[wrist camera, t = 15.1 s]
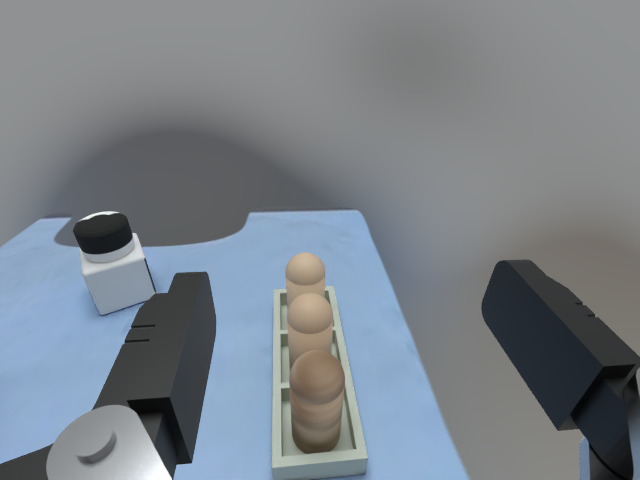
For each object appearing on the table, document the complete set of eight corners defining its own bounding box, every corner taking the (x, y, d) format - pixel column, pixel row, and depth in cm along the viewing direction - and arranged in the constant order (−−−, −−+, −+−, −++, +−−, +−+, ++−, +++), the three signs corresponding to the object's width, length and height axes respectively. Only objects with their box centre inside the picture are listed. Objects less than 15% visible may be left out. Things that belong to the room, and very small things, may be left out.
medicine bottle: (158, 297, 50) (134, 224, 43) (100, 317, 47) (66, 240, 40) (148, 270, 55) (126, 201, 48) (96, 286, 52) (64, 214, 45)
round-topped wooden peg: (282, 424, 34) (277, 354, 29) (321, 399, 36) (324, 330, 31) (309, 466, 31) (309, 398, 25) (349, 436, 33) (358, 367, 28)
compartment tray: (365, 473, 31) (377, 401, 25) (273, 483, 31) (264, 411, 25) (332, 301, 50) (335, 235, 44) (275, 304, 49) (269, 238, 43)
